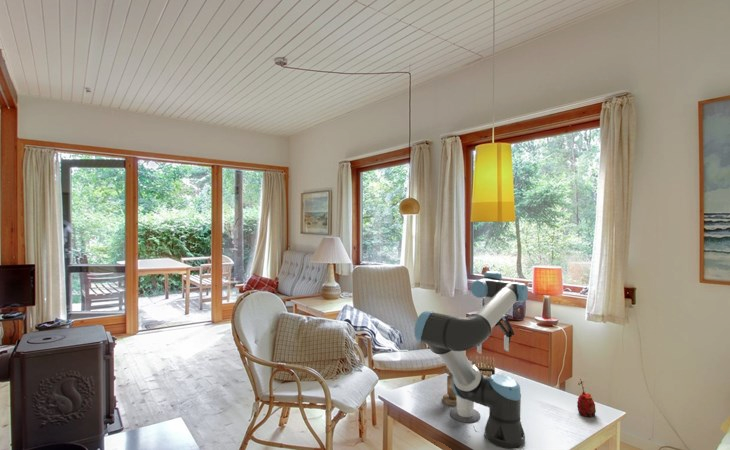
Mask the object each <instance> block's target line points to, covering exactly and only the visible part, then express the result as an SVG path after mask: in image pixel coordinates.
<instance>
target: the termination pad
mask: <svg viewBox="0 0 730 450" xmlns="http://www.w3.org/2000/svg"><path fill="white" fill-rule="evenodd" d="M449 415H450V417H452V419H454V420H456V421H458V422H461V423H466V424H468V423H469V424H473V423H477V422H479V421H480V420H481V413H480V412H479V411H478V410H477V409H475V408H473V415H472V416H471V417H462V416H460V415H458V413H457V406H454V407H453V408H451V410H450V413H449Z"/></svg>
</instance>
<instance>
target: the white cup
mask: <svg viewBox="0 0 730 450" xmlns="http://www.w3.org/2000/svg"><path fill="white" fill-rule="evenodd" d="M456 402H457V406H456V407H457V413H458V415H460V416H462V417H471V416H472V415H473V409H475V408H474V407H475V404H474V403H475V402H472V401H469V400H467V399H462V398H461V397H459V396H457V395H456Z"/></svg>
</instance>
